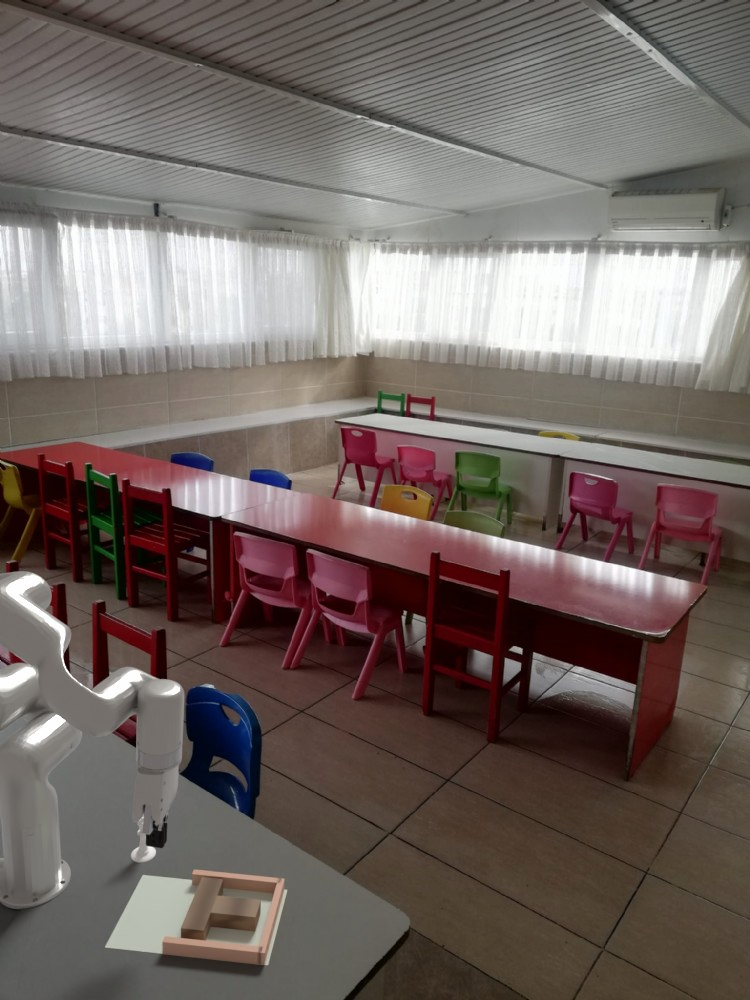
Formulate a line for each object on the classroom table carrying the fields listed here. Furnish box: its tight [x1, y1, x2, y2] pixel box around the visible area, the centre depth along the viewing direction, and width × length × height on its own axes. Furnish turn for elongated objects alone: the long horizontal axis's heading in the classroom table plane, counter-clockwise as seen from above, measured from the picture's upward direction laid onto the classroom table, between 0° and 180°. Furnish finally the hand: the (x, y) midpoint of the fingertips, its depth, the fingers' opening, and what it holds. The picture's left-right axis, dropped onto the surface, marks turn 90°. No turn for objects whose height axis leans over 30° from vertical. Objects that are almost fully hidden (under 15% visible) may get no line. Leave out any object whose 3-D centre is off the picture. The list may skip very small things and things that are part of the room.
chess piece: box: [130, 814, 157, 864], centre depth 147 cm, size 5×5×10 cm
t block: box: [181, 877, 261, 941], centre depth 133 cm, size 12×12×3 cm
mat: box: [104, 874, 288, 967], centre depth 133 cm, size 28×17×1 cm, turn 86°
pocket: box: [162, 869, 286, 966], centre depth 133 cm, size 17×17×2 cm
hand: (156, 843), depth 131 cm, fingers closed
